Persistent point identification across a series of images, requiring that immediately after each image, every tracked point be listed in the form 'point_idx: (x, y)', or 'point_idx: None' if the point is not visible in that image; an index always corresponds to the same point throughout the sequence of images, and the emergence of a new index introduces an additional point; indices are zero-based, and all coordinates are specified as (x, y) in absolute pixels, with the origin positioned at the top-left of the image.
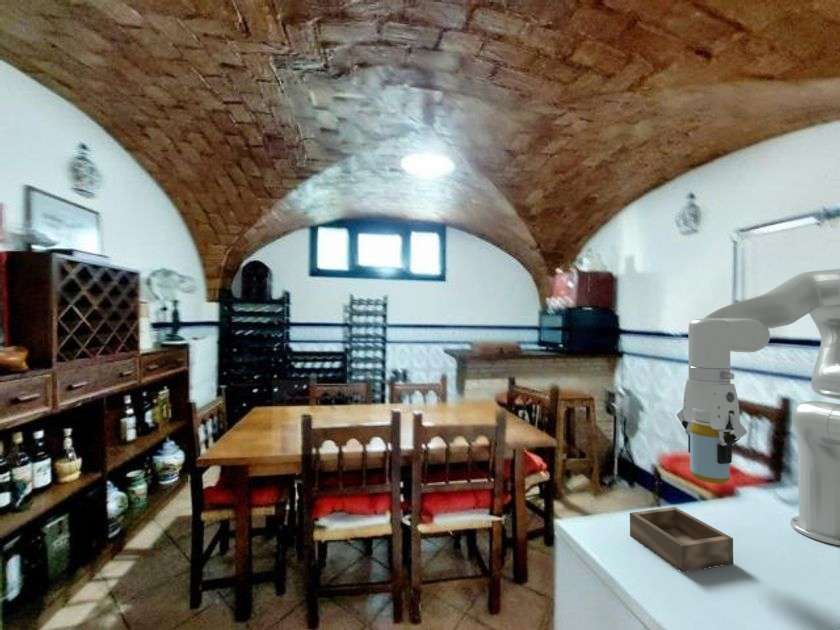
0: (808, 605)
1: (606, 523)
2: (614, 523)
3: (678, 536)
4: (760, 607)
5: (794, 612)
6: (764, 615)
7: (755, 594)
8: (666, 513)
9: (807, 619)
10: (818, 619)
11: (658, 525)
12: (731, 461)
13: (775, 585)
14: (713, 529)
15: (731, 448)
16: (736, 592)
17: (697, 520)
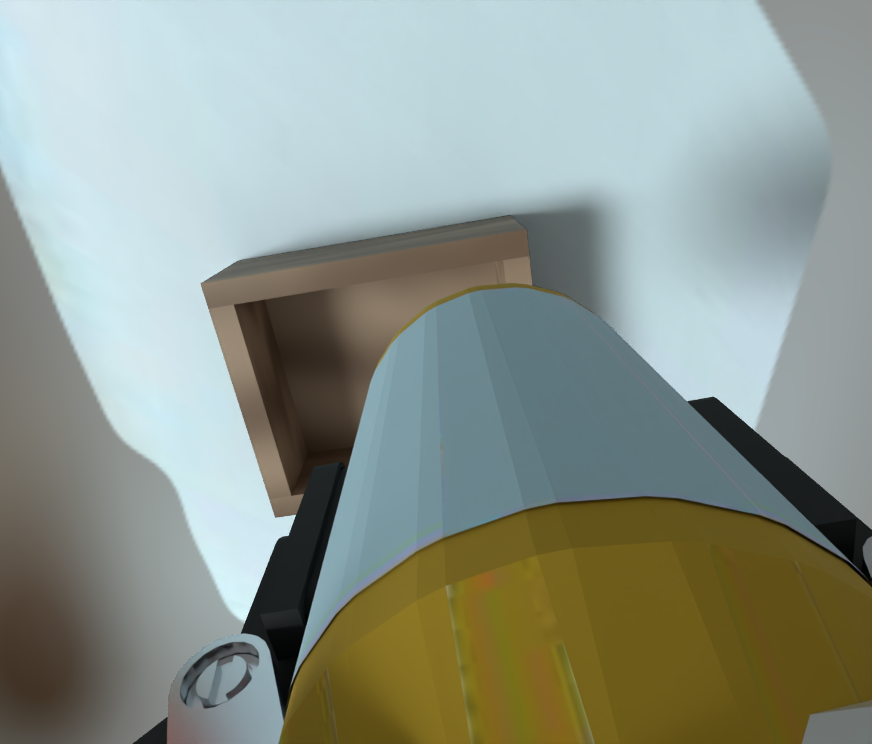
0: (761, 147)
1: (203, 499)
2: (201, 472)
3: (331, 314)
4: (725, 317)
5: (772, 230)
6: (755, 334)
7: (672, 280)
8: (252, 349)
9: (806, 219)
10: (817, 182)
11: (277, 372)
12: (716, 400)
13: (648, 164)
14: (442, 259)
15: (868, 533)
16: (651, 333)
17: (351, 271)
